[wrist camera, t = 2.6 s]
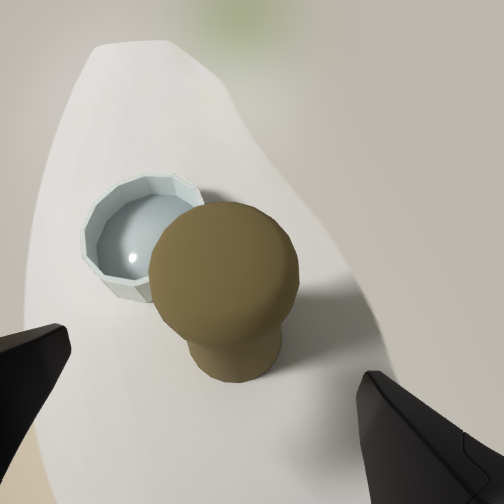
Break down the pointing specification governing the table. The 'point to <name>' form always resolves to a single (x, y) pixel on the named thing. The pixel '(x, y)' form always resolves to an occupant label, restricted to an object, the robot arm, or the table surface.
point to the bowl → (133, 229)
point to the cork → (225, 286)
